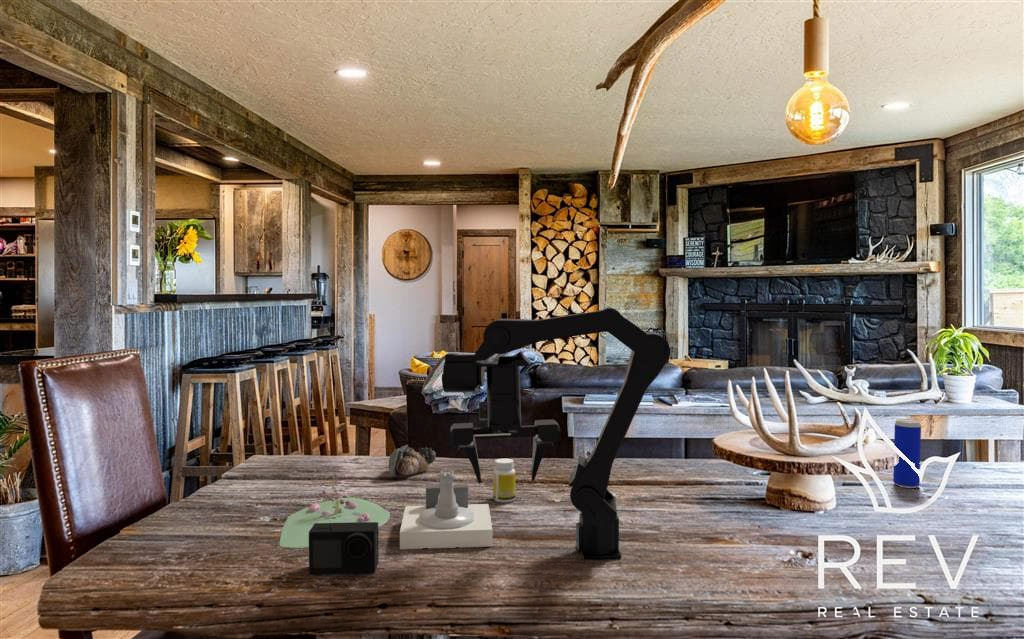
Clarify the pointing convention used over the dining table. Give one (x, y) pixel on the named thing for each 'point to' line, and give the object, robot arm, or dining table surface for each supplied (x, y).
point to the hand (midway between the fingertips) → (506, 481)
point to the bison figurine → (410, 460)
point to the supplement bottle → (504, 481)
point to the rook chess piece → (446, 496)
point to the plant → (329, 517)
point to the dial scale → (446, 523)
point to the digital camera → (343, 548)
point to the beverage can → (907, 452)
